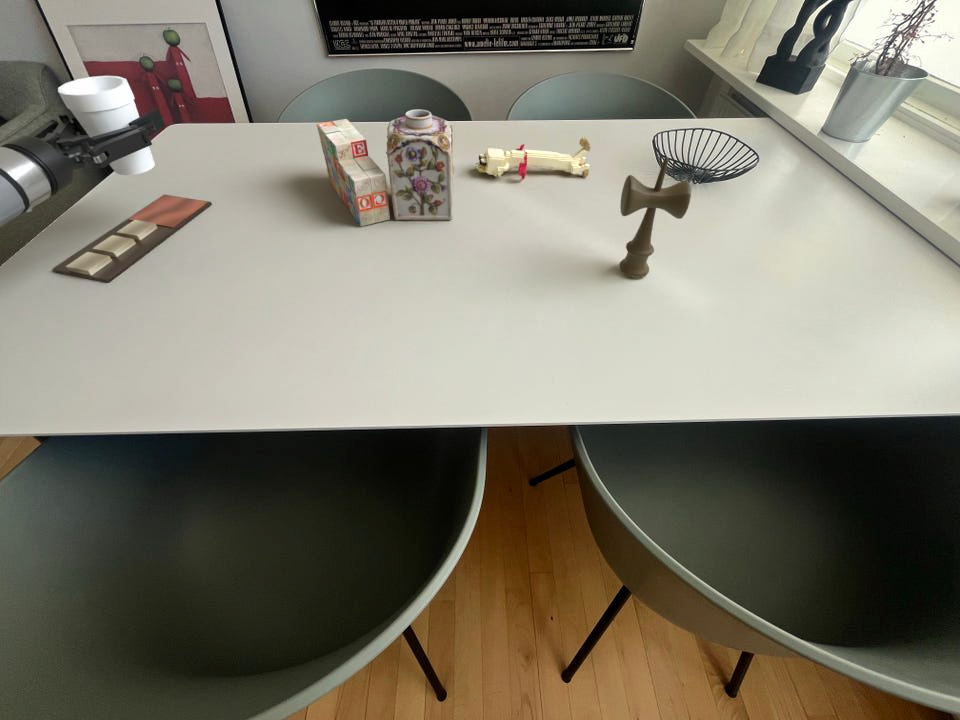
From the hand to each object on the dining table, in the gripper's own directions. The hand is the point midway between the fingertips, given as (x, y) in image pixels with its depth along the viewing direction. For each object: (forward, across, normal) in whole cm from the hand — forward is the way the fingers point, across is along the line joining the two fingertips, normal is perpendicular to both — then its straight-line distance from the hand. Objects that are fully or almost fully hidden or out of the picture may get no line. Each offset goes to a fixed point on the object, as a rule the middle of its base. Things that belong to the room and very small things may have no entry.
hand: (132, 115), depth 82 cm
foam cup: (-5, 0, -7) cm, 9 cm away
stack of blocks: (+11, +33, -18) cm, 40 cm away
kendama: (-3, +88, -18) cm, 90 cm away
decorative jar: (+12, +48, -18) cm, 52 cm away
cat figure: (+31, +67, -18) cm, 76 cm away
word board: (-10, -1, -18) cm, 20 cm away
